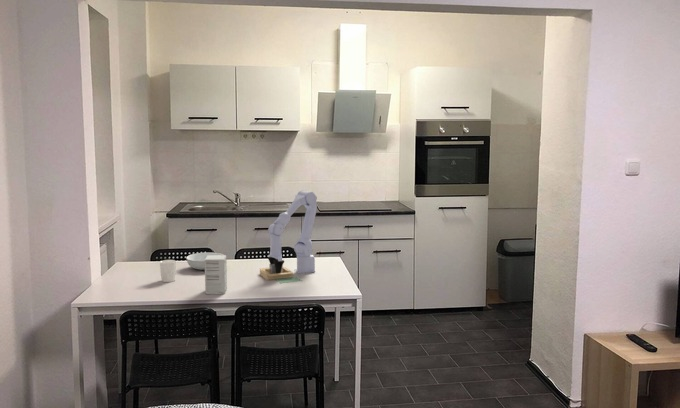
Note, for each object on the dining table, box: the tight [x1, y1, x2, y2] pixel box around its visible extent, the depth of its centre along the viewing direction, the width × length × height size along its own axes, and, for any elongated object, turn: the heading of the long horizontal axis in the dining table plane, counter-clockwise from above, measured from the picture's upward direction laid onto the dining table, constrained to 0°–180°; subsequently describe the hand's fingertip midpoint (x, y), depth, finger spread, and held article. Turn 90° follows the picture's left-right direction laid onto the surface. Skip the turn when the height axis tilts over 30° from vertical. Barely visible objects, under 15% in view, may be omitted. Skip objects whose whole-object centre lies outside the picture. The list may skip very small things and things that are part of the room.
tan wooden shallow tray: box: [259, 266, 294, 281], centre depth 297 cm, size 14×17×3 cm
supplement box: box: [204, 254, 228, 295], centre depth 267 cm, size 10×9×17 cm
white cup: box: [159, 259, 177, 283], centre depth 288 cm, size 8×8×10 cm
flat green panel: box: [274, 276, 303, 284], centre depth 288 cm, size 12×9×1 cm
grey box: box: [268, 263, 284, 274], centre depth 297 cm, size 6×4×6 cm
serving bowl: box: [185, 252, 224, 271], centre depth 315 cm, size 21×21×7 cm
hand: (276, 271), depth 297 cm, fingers open, 7 cm apart
